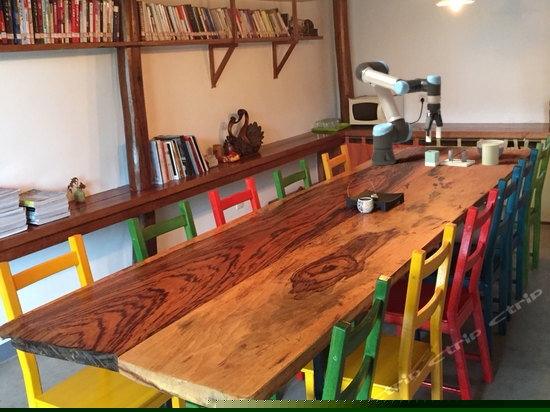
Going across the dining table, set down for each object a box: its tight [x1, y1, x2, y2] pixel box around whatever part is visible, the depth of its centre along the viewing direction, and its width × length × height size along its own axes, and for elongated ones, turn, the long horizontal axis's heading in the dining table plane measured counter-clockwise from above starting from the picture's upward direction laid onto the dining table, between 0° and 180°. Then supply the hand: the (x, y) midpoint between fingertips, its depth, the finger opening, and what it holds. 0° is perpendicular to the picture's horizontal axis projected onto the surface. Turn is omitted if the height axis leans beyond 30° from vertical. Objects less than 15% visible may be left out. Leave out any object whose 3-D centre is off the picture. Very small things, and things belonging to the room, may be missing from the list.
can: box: [481, 143, 500, 167], centre depth 362 cm, size 9×9×12 cm
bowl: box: [476, 139, 506, 157], centre depth 380 cm, size 16×16×10 cm
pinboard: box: [439, 149, 476, 168], centre depth 369 cm, size 16×12×8 cm
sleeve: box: [424, 150, 440, 167], centre depth 370 cm, size 6×6×8 cm
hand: (433, 139), depth 368 cm, fingers open, 13 cm apart
